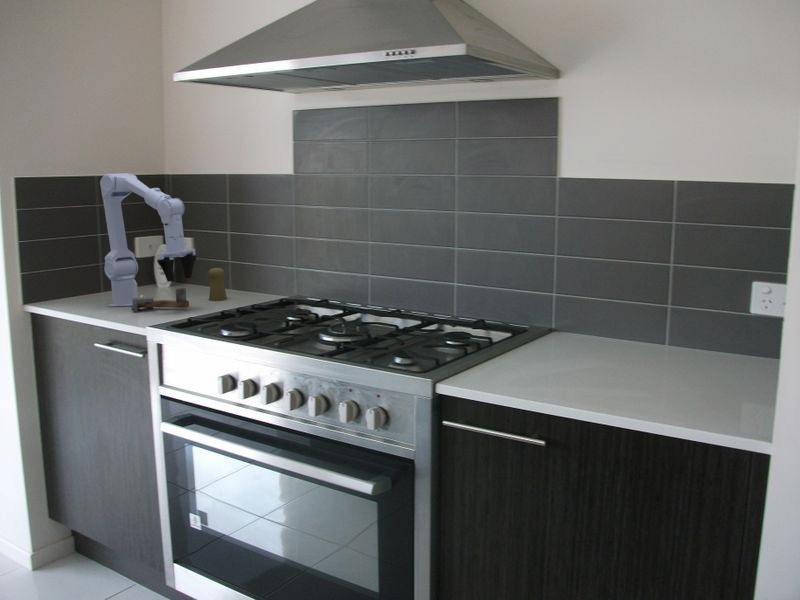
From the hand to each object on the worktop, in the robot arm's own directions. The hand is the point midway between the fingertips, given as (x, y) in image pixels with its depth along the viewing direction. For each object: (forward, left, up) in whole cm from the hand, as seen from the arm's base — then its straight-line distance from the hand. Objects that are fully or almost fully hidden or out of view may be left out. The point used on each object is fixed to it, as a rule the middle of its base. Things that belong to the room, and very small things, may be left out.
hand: (179, 279), depth 254 cm
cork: (-22, +6, -11) cm, 25 cm away
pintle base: (-6, -15, -10) cm, 19 cm away
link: (-5, -8, -10) cm, 13 cm away
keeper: (-2, -13, -10) cm, 17 cm away
